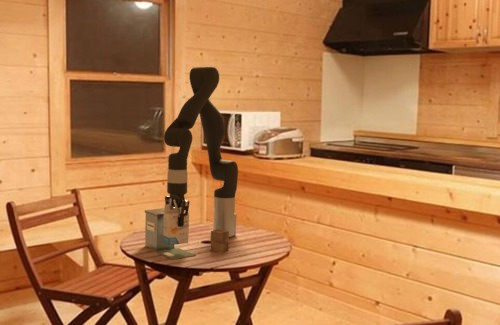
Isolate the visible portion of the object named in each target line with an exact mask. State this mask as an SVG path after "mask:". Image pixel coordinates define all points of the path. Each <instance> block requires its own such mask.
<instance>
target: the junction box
mask: <svg viewBox="0 0 500 325" xmlns="http://www.w3.org/2000/svg"><path fill="white" fill-rule="evenodd" d="M164 208H165V207H163V208H155V209H152V208H151V209H144V213H145V225H144V226H145V227H144V228H145V229H144V230H145V231H144V236H145V237H144V239H145V240H144V243H145V244H144V245H145V248H148V249H150V250H153V251H155V252H157V251H163V250H169V249H175V245H167V244H166V243H163V234H164Z"/></svg>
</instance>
